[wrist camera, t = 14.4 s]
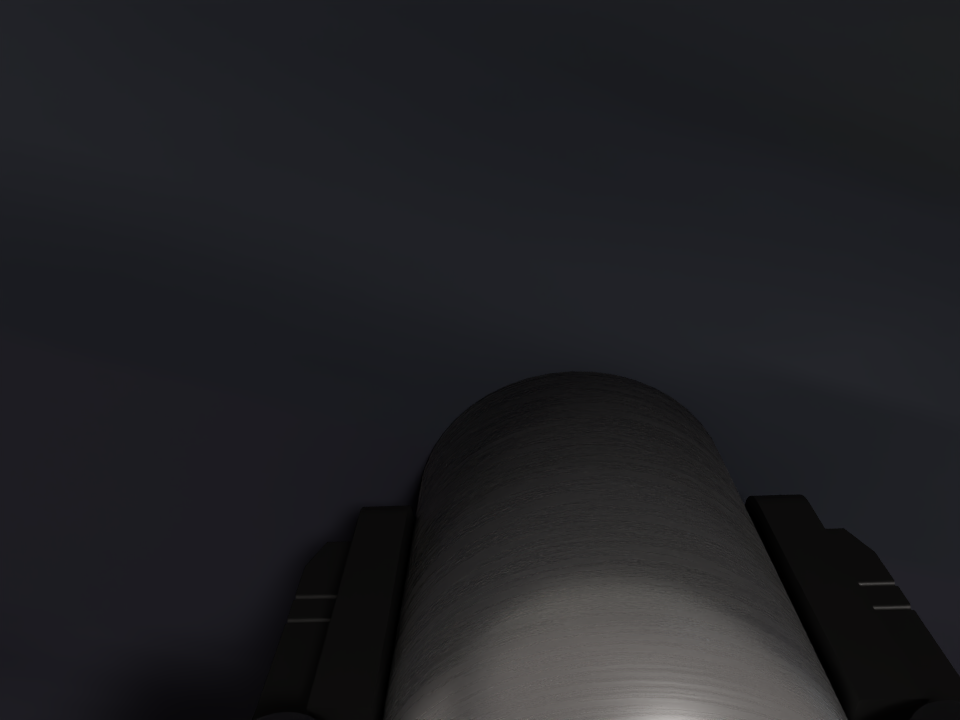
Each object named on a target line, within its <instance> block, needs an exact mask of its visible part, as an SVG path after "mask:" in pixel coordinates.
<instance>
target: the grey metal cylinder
mask: <svg viewBox="0 0 960 720" xmlns="http://www.w3.org/2000/svg"><path fill="white" fill-rule="evenodd" d="M382 720H848V719H847V717H846V715H845V713H844V710H843V708H842V706H841V704H840V702H839V700H838V698H837V696H836V694H835V692H834V690H833V688H832V686H831V684H830V682H829V679H828V677H827V675H826V673H825V671H824V669H823V667H822V665H821V663H820V661H819V659H818V657H817V655H816V653H815V650H814V648H813V646H812V644H811V642H810V640H809V638H808V636H807V634H806V632H805V630H804V628H803V626H802V624H801V622H800V619H799V617H798V615H797V613H796V611H795V609H794V607H793V605H792V603H791V601H790V599H789V597H788V595H787V593H786V591H785V588H784V586H783V584H782V582H781V580H780V578H779V576H778V574H777V572H776V570H775V568H774V566H773V564H772V562H771V559H770V557H769V555H768V553H767V551H766V549H765V547H764V545H763V543H762V541H761V539H760V537H759V535H758V533H757V531H756V528H755V526H754V524H753V522H752V520H751V518H750V516H749V514H748V512H747V510H746V508H745V506H744V504H743V502H742V499H741V497H740V495H739V493H738V491H737V489H736V487H735V485H734V483H733V481H732V479H731V477H730V475H729V473H728V471H727V468H726V466H725V464H724V462H723V460H722V458H721V456H720V454H719V452H718V450H717V448H716V446H715V444H714V442H713V440H712V438H711V437H710V435H709V434H708V432H707V431H706V430H705V428H704V427H703V425H702V424H701V423H700V422H699V421H698V420H697V419H696V418H695V417H694V416H693V415H692V414H691V413H690V412H689V411H688V410H687V409H686V408H685V407H683V406H682V405H681V404H680V403H678V402H677V401H676V400H674V399H673V398H671V397H670V396H668V395H666V394H664V393H663V392H661V391H659V390H657V389H655V388H653V387H651V386H648V385H646V384H643V383H641V382H638V381H636V380H632V379H629V378H625V377H621V376H617V375H612V374H605V373H598V372H573V371H571V372H560V373H550V374H545V375H541V376H536V377H531V378H527V379H524V380H521V381H518V382H516V383H513V384H510V385H507V386H505V387H503V388H501V389H499V390H497V391H495V392H493V393H491V394H489V395H487V396H485V397H484V398H482V399H481V400H479V401H478V402H476V403H475V404H473V405H472V406H470V407H469V408H468V409H467V410H466V411H465V412H463V413H462V414H461V415H460V416H459V417H458V418H456V420H455V421H454V422H453V423H452V424H451V425H450V426H449V427H448V428H447V430H446V431H445V432H444V433H443V435H442V436H441V438H440V439H439V441H438V442H437V444H436V445H435V447H434V448H433V451H432V453H431V455H430V457H429V459H428V461H427V463H426V467H425V470H424V474H423V477H422V481H421V487H420V493H419V500H418V506H417V512H416V518H415V524H414V530H413V536H412V542H411V548H410V554H409V560H408V566H407V573H406V579H405V585H404V591H403V597H402V603H401V609H400V615H399V621H398V627H397V633H396V640H395V646H394V652H393V658H392V664H391V670H390V676H389V682H388V688H387V694H386V700H385V707H384V713H383V719H382Z"/></svg>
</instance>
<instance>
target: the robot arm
mask: <svg viewBox="0 0 960 720" xmlns="http://www.w3.org/2000/svg"><path fill="white" fill-rule="evenodd" d="M745 508H746V510H747V512H748V514H749V516H750V518H751V520H752V522H753V524H754V526H755V528H756V531H757V533H758V535H759V537H760V539H761V541H762V543H763V545H764V547H765V549H766V551H767V553H768V555H769V557H770V559H771V562H772V564H773V566H774V568H775V570H776V572H777V574H778V576H779V578H780V580H781V582H782V584H783V586H784V588H785V591H786V593H787V595H788V597H789V599H790V601H791V603H792V605H793V607H794V609H795V611H796V613H797V615H798V617H799V619H800V622H801V624H802V626H803V628H804V630H805V632H806V634H807V636H808V638H809V640H810V642H811V644H812V646H813V648H814V650H815V653H816V655H817V657H818V659H819V661H820V663H821V665H822V667H823V669H824V671H825V673H826V675H827V677H828V679H829V682H830V684H831V686H832V688H833V690H834V692H835V694H836V696H837V698H838V700H839V702H840V704H841V706H842V708H843V710H844V713H845V715H846V717H847V719H848V720H960V677H959V675H958V674H957V672H956V671H955V669H954V668H953V666H952V665H951V663H950V662H949V660H948V659H947V658H946V656H945V655H944V653H943V652H942V650H941V649H940V647H939V646H938V644H937V643H936V641H935V640H934V638H933V637H932V635H931V634H930V632H929V631H928V630H927V628H926V627H925V625H924V624H923V622H922V621H921V619H920V618H919V616H918V615H917V613H916V612H915V610H911V608H910V603H909V602H908V600H907V599H906V597H905V596H904V594H903V593H902V591H901V590H900V588H899V587H898V586H895V584H894V579H893V578H892V576H891V575H890V574H889V572H888V571H887V569H886V568H885V566H884V565H883V563H882V562H881V560H880V559H879V557H878V556H877V554H876V553H875V552H874V551H873V550H872V549H870V548H869V547H868V546H866V545H865V544H864V543H862V542H861V541H860V540H858V539H857V538H856V537H854V536H853V535H852V534H851V533H849V532H848V531H847V530H845V529H844V528H840V529H825V528H824V526H823V525H822V523H821V521H820V520H819V518H818V516H817V515H816V513H815V512H814V510H813V508H812V507H811V505H810V503H809V502H808V500H807V499H806V498H805V497H804V496H803V495H767V496H749V497H748V498H747V500H746V503H745ZM413 530H414V516H413V511H412V507H411V506H384V507H363V508H362V509H361V511H360V514H359V518H358V521H357V525H356V529H355V532H354V536H353V540H352V542H327V543H326V544H325V545H324V546H323V548H322V549H321V550H320V551H319V552H318V553H317V554H316V555H315V556H314V557H313V559H312V560H311V561H310V562H309V563H308V564H307V565H306V566H305V569H304V572H303V575H302V578H301V580H300V583H299V586H298V589H297V592H296V600H294V601H293V604H292V607H291V610H290V612H289V615H288V623H287V624H285V627H284V630H283V633H282V636H281V639H280V642H279V644H278V647H277V650H276V653H275V656H274V659H273V662H272V665H271V668H270V671H269V674H268V676H267V679H266V682H265V685H264V688H263V691H262V694H261V697H260V700H259V703H258V706H257V709H256V711H255V714H254V716H253V719H252V720H382V719H383V713H384V707H385V700H386V694H387V688H388V682H389V676H390V670H391V664H392V658H393V652H394V646H395V640H396V633H397V627H398V621H399V615H400V609H401V603H402V597H403V591H404V585H405V579H406V573H407V566H408V560H409V554H410V548H411V542H412V536H413Z"/></svg>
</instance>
